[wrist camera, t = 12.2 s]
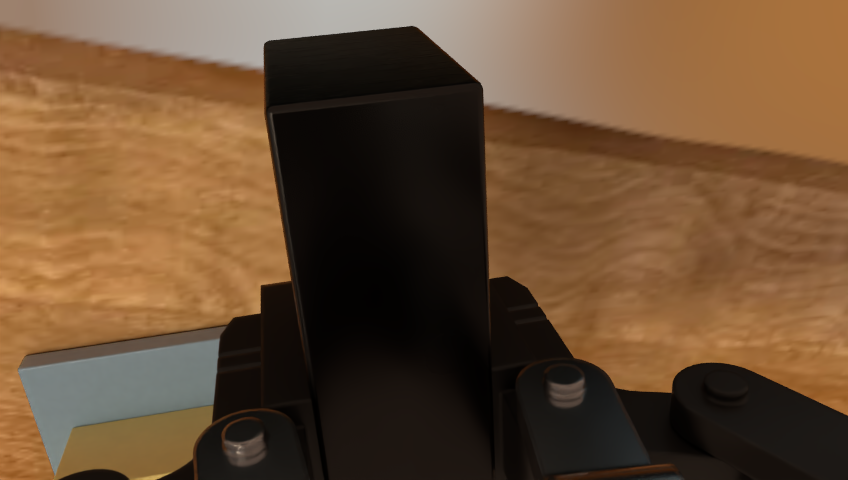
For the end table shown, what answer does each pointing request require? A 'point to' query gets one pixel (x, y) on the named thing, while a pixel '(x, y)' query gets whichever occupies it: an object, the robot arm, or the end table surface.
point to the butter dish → (118, 382)
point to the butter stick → (136, 444)
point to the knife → (386, 250)
